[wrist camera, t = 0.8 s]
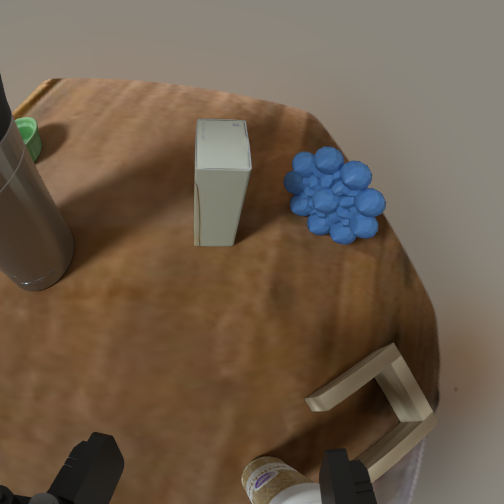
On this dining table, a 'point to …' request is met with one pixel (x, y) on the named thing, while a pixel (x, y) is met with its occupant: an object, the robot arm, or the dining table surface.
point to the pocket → (399, 396)
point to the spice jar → (278, 483)
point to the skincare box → (220, 180)
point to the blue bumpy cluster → (334, 195)
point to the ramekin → (30, 136)
